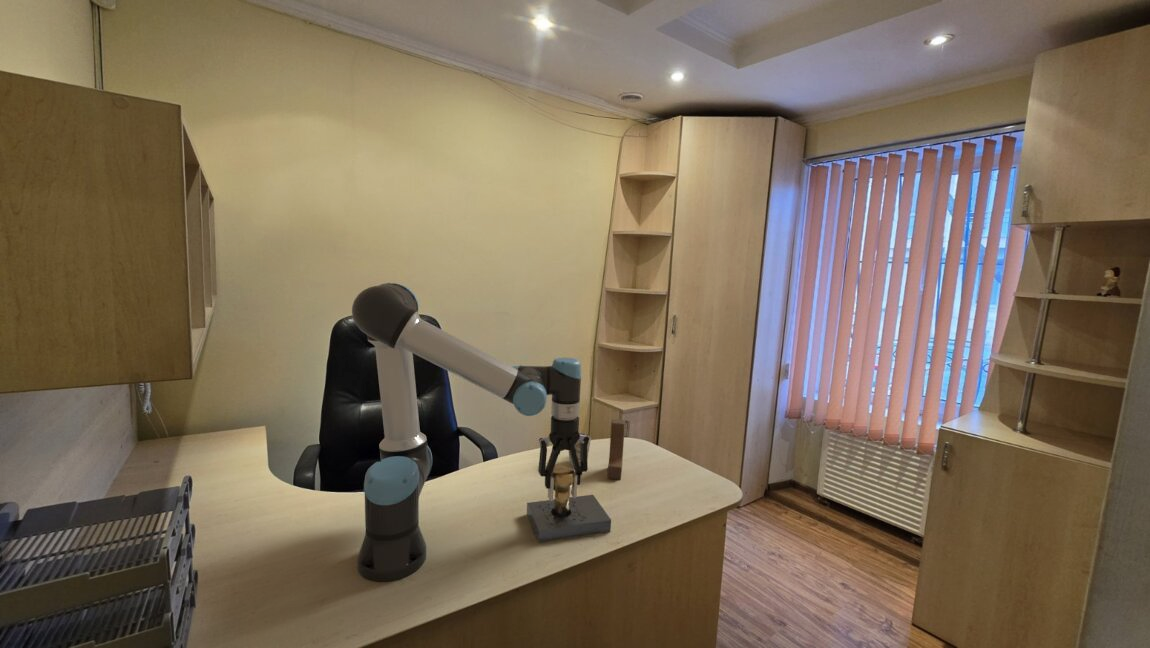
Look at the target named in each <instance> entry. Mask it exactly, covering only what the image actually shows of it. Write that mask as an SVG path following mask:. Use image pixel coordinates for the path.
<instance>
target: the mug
mask: <svg viewBox="0 0 1150 648" xmlns="http://www.w3.org/2000/svg"><path fill="white" fill-rule="evenodd" d="M579 434H580V435H583V434H586V436H587V437H588V438H589V442H588V445H587V460H588V458H589V452H590V448H591V441H592V437H591V435H589V434H587V433H583V432H579ZM574 446H575V450H576V455H577V458H578V462H579V465H580V466H581V460H580V441H579V440H578V441H577V442H576V444H575V445H574ZM568 461H569V465H570V466H572V467H574V466H573V463H572V459H571V455H570V452H569V451H568Z"/></svg>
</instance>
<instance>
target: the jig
mask: <svg viewBox="0 0 1150 648" xmlns="http://www.w3.org/2000/svg"><path fill="white" fill-rule="evenodd" d="M554 507H555V498H553V501H550V500H549V499H548V500H540V501H538V500H537V501H532V502H530V501H529V502H527V503H526V516H527V519H528V520H529V523H530V526H531V528H532V532H534V535H535V538H536V541H537V543H538V544H542V543H547V542H548V543H549V542H553V541H554V542H555V541H561V540H567V539H573V538H574V539H575V538H581V537H586V536H593V535H599V534H606V533H611V532H612V531H611V528H612V527H611V526H612V519H611V517H610V516H609V515H608V513H607V512H606V511H605V509H604V508H603V506H602V505H601V504H600V502H599V501H598V500H597V498H596V497H595V495H594V494H586V495H585V494H584V495H578V496H577V498H573V496H572V497H570V496H569V511H568V512H566V513H558V512H556V511H555V510H554Z"/></svg>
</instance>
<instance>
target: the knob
mask: <svg viewBox="0 0 1150 648" xmlns="http://www.w3.org/2000/svg"><path fill="white" fill-rule="evenodd" d="M574 471H575V470H574V468H572V467H568V466H557V467H554V470H553V472H552V476H553V478H554V488H553V492H554V499H555V507H554V510H555V511H556V512H558V513H566V512H568V511H569V497H570V494H571V490H573V487H574Z"/></svg>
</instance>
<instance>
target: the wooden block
mask: <svg viewBox="0 0 1150 648" xmlns="http://www.w3.org/2000/svg"><path fill="white" fill-rule="evenodd" d="M625 426H626V421H625V419H618V418H612V420H611V424H610V439H609V458H608V465H607V466H608V467H607V479H610V480H611V479H612V480H622V473H623V458H624V443H625V442H624V441H625V429H626V428H625Z"/></svg>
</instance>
